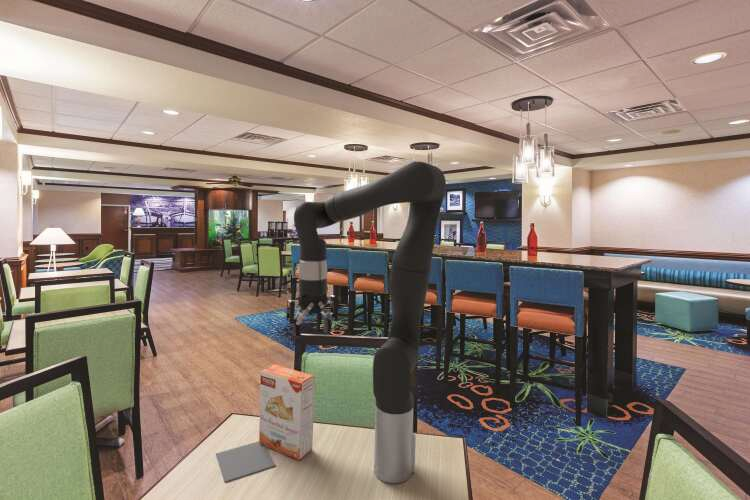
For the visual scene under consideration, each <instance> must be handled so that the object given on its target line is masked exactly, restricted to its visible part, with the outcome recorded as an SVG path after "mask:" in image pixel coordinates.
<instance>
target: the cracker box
mask: <svg viewBox="0 0 750 500" xmlns="http://www.w3.org/2000/svg"><path fill="white" fill-rule="evenodd" d="M315 377H316V376H315V375H313V374H309V373H305V372H302V371H298V370H295V369H292V368H289V367H285V366H282V365H279V364H276V363H275V364H272V365H270V366H269V367H267V368H264V369H262V370H260V389H259V390H260V391H259V392H260V393H259V394H260V395H259V429H258V430H259V432H258V433H259V434H258V435H259V437H258V441H259V443H260V444H263V445H265V446H266V448H267V447H268V448H270V449H272V450H274V451H277V452H280V454H284V455H286V456H289V457H291V458H293V459H295V460H297V461H300V460H301V459H302V458H304V456H306V455H307V454H308V453H309V452H311V451H312V450H313V439H314V436H313V433H314V413H315V412H314V411H315V410H314V408H315V405H314V404H315V379H316V378H315Z"/></svg>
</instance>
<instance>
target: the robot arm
mask: <svg viewBox="0 0 750 500" xmlns="http://www.w3.org/2000/svg"><path fill="white" fill-rule="evenodd" d="M446 182H447V181H446V177H445V175H444V172H443V171H442V170H441V168H439V167H438V166H436V165H434V164H430V163H427V162H425V161H413V162H410V163H408V164H406V165H403V166H402V167H400V168H398V169H396V170H395V171H393V172H390V173H389V174H387V175H385V176H383V177H381V178H379V179H376V180H374V181H372V182H369V183H366V184H364V185H361V186H358V187H354V188H351V189H348V190H347V189H346V190H344V191H341V192H338V193H335V194H332V195H330V196H329V197H328V198H327V199H326V200H324V201H319V202H318V201H302V202H300V203H299V204H298V205H297V206H296V207H295V210H294V213H293V222H294V227H295V231H296V235H297V239H298V243H299V264H298V298H297V299H287V301H286V313H285V314H286V316H285V317H286V319H285V320H286V322H288V323H289V324H293V325H292V326H293V328H292V329H293V330H292V331H293V332H292V333H293V336H295V338H297V339H301V338H302V324H301V323H302V322H303V320H304V319H305V318H306V317H308V316H309V315H310V316H311V315H314V314H317V315H318V314H322V315H323V317H324V318H323V332H324V333H325V334H330V331H332V320H333V319H334V318H337V317H338V316H339V305H338V302H339V301H338V296H337V295H335V294H330V295H327V293H328V264H327V263H328V262H327V242H326V240H325V239H324V238H322V237H319V233H318V230H317V229H323V228H327V227H330V226H333V225H335V224H338V223H339V222H343V221H349V220H351V219H352V220H353V219H354V218H355V219H356V218H358V217H361V216H364V215H367V214H369V213H370V212H373V211H374V210H376V209H379V208H381V207H385V206H388V205H393V204H394V205H395V204H396V205H397V204H402V203H403V204H406V203H409V209H408V215H407V216H408V217H407V222H406V226H405V228H404V231H403V233H402V236H401V237H400V239H399V241H398V243H397V246H396V248H395V250H394V253H393V256H392V260H391V266H390V272H389V281H388V290H389V291H388V292H389V298H390V300H389V301H390V304H391V305H390V306H391V322H390V327H389V331H388V337H387V339H386V342H385V343H383V344H382V345H381V346H380V347H379V348H378V349H377V350H376V351H375V353H374V355H373V361H372V386H373V387H372V392H373V396H374V398H375V409H374V410H375V419H374V453H373V455H374V457H373V459H374V460H373V462H374V463H373V473H374V475H375V476H376V477H377V479H378V480H380V481H381V482H383V483H386V484H387V483H388V484H401V483H403V482H406V481H407V480H408V479H409V478H410V477H411V475H412V474H413V473H414V472H416V471H415V468H416V467H415V465H416V443H417V442H416V440H417V439H416V434H415V433H414V430H413V429H414V405H415V403H414V399H415V398H414V394H413V393H412V391H411V373H412V372H413V370H415V368H416V366H417V364H418V360H419V354H420V330H421V322H422V315H423V312H424V306H425V303H426V297H427V293H428V288H429V282H430V274H431V269H432V261H433V252H434V245H435V239H436V238H435V237H436V230H437V224H438V220H439V215H440V211H441V208H442V205H443V200H444V197H445V193H446V188H447V183H446ZM328 303H329V310H330V312H329V310H328V308H327V307H326V305H327V304H328ZM297 306H299V309H298V310H297V312H296V314H295V309H296V308H297Z"/></svg>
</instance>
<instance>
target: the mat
mask: <svg viewBox="0 0 750 500" xmlns="http://www.w3.org/2000/svg"><path fill="white" fill-rule="evenodd" d="M215 456H216V459H217V462H218V466H219V468H220V472H221V475H222V478H223V481H224V483H228V482H231V481H233V480H237V479H241V478H243V477H247V476H250V475H253V474H255V473H259V472H262V471H265V470H268V469H271V468H273V467H276V464H275V460H274V459H273V458H272V456H271V454H270V452H269V451H268V448H267V446H265V445H263V444H260V443H259V440H257V441H256V442H252V443H248V444H245V445H241V446H238V447H233V448H231V449H227V450H224V451H219V452H217V453H215Z"/></svg>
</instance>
